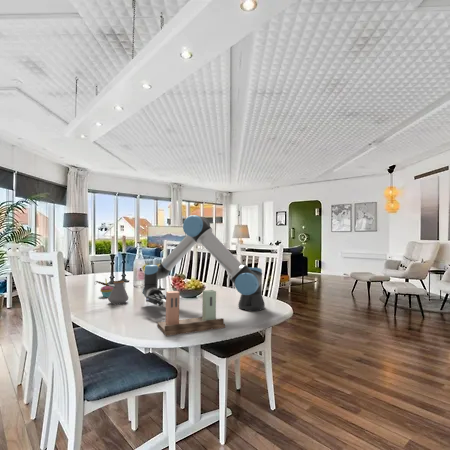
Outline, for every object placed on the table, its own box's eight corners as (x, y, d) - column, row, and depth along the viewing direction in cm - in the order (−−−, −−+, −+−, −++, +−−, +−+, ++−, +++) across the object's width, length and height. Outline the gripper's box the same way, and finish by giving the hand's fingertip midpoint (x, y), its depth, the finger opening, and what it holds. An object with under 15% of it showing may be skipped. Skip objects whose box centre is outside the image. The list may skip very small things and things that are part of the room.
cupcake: (97, 296, 198) (97, 278, 198) (108, 294, 205) (109, 277, 205) (105, 298, 193) (105, 279, 194) (116, 296, 200) (117, 278, 201)
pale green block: (212, 319, 141) (212, 289, 141) (215, 322, 137) (216, 291, 138) (202, 321, 139) (202, 290, 139) (205, 323, 135) (206, 292, 135)
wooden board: (211, 319, 149) (211, 311, 149) (225, 327, 135) (225, 319, 135) (157, 325, 137) (157, 318, 137) (166, 335, 123) (166, 327, 123)
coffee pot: (120, 300, 189) (121, 276, 189) (132, 302, 182) (132, 277, 183) (88, 306, 171) (89, 280, 172) (100, 309, 165) (101, 282, 165)
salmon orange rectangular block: (176, 321, 138) (176, 290, 138) (179, 324, 134) (179, 292, 134) (165, 322, 135) (166, 291, 136) (168, 325, 132) (168, 293, 132)
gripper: (166, 301, 168) (179, 311, 147) (142, 303, 162) (152, 313, 141) (166, 287, 168) (179, 295, 147) (142, 289, 162) (152, 297, 141)
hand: (166, 304), depth 144 cm, fingers closed
